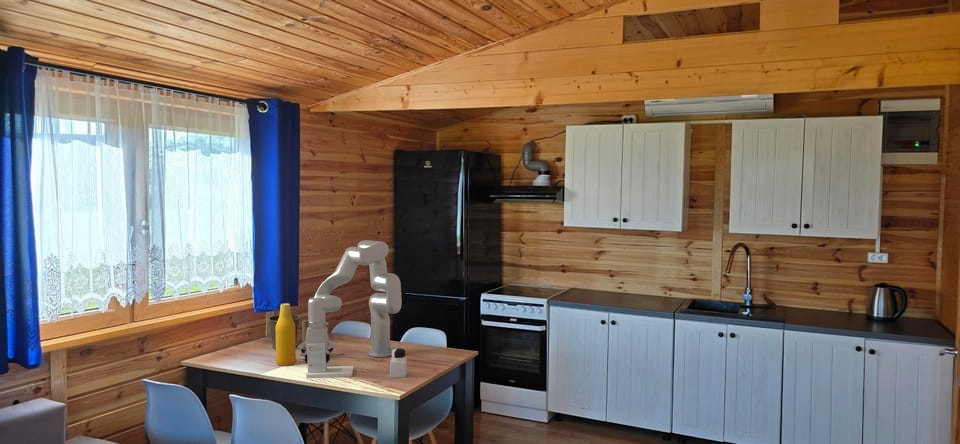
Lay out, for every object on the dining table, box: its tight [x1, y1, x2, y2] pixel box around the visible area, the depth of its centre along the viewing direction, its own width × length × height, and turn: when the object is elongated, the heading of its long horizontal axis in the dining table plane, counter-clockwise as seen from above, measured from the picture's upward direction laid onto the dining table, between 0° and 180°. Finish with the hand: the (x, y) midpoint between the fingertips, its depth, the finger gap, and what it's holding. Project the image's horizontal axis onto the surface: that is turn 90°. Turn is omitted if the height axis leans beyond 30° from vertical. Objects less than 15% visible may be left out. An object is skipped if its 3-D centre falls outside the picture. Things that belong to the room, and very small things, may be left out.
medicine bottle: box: [389, 348, 408, 378], centre depth 295 cm, size 7×7×12 cm
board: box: [305, 365, 354, 379], centre depth 298 cm, size 20×12×2 cm, turn 97°
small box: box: [307, 343, 328, 372], centre depth 297 cm, size 8×6×13 cm
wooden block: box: [300, 319, 308, 357], centre depth 326 cm, size 4×11×18 cm, turn 54°
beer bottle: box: [275, 303, 297, 367], centre depth 313 cm, size 9×9×29 cm
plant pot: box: [267, 314, 301, 350], centre depth 344 cm, size 16×16×16 cm
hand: (317, 362), depth 297 cm, fingers closed on small box, 8 cm apart
